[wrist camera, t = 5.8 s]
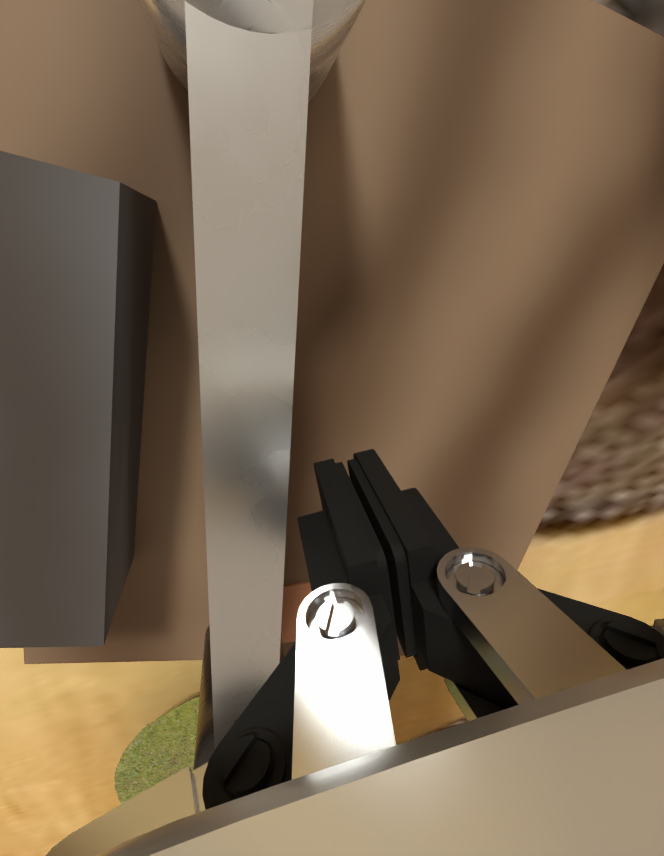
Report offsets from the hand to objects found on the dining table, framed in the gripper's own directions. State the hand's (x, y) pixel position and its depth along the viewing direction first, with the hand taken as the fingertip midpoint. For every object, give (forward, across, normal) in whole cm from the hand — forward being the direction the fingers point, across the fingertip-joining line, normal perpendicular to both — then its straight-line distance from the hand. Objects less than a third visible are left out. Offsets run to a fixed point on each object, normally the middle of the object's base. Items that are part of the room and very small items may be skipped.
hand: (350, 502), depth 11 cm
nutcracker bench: (+5, -1, -2) cm, 5 cm away
